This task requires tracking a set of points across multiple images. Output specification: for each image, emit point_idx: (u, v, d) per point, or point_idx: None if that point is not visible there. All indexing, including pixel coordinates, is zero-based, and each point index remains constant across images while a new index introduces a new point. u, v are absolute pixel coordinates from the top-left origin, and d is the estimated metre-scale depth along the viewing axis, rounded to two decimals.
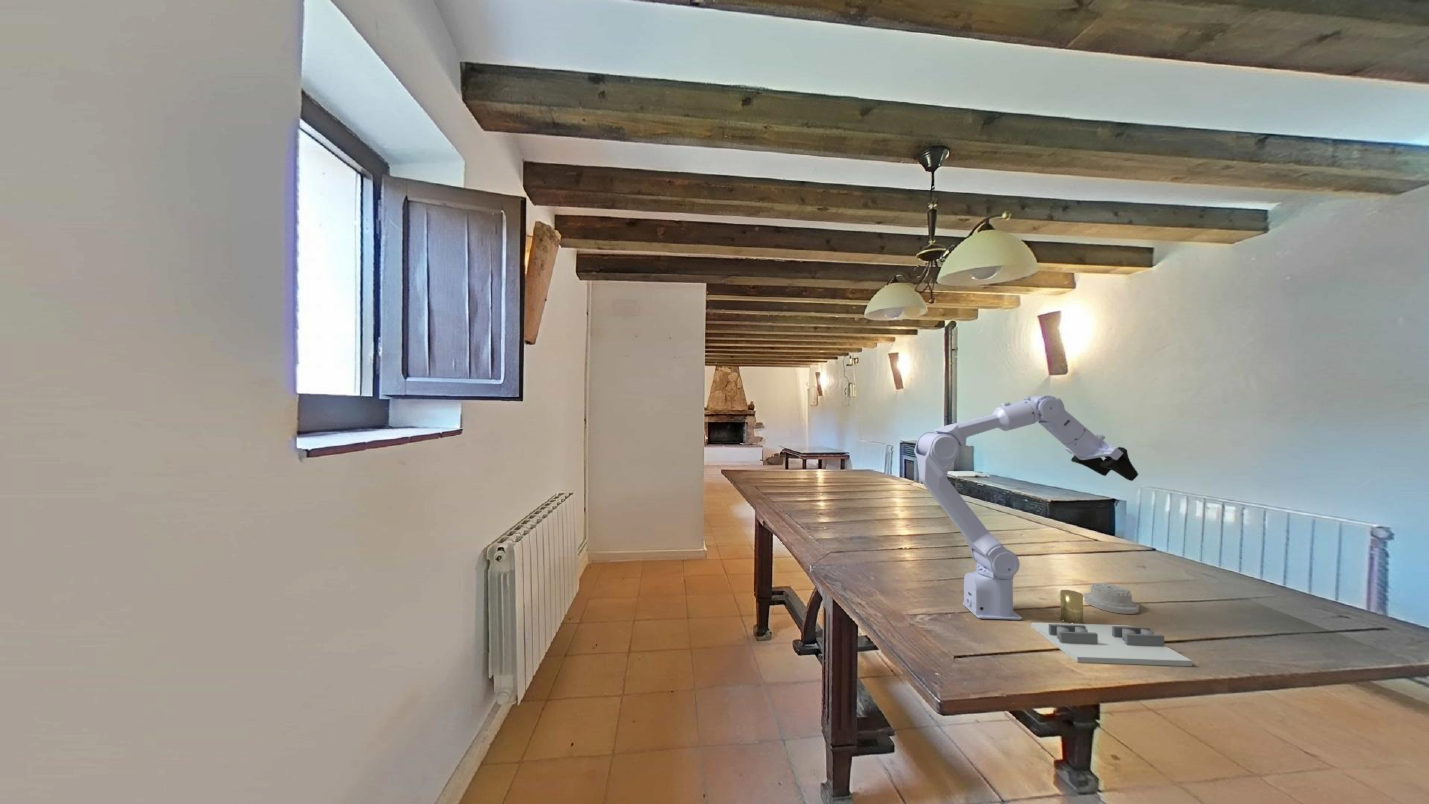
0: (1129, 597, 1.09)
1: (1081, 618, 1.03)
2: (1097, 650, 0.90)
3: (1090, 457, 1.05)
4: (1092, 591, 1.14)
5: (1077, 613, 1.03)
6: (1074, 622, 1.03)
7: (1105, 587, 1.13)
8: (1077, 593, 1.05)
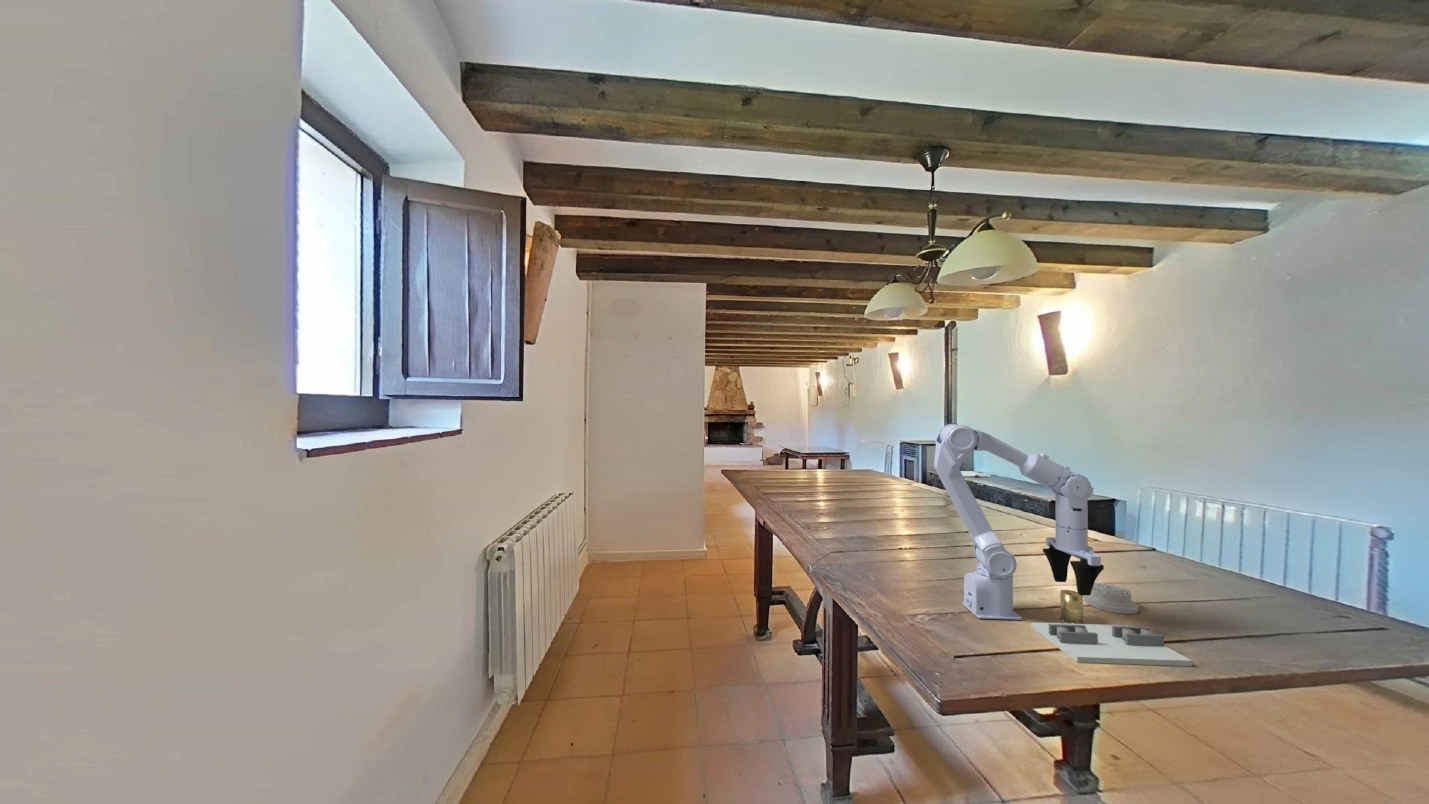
0: (1128, 597, 1.09)
1: (1081, 618, 1.03)
2: (1097, 650, 0.90)
3: (1068, 551, 1.02)
4: (1091, 591, 1.14)
5: (1077, 613, 1.03)
6: (1074, 622, 1.03)
7: (1104, 587, 1.13)
8: (1077, 593, 1.05)
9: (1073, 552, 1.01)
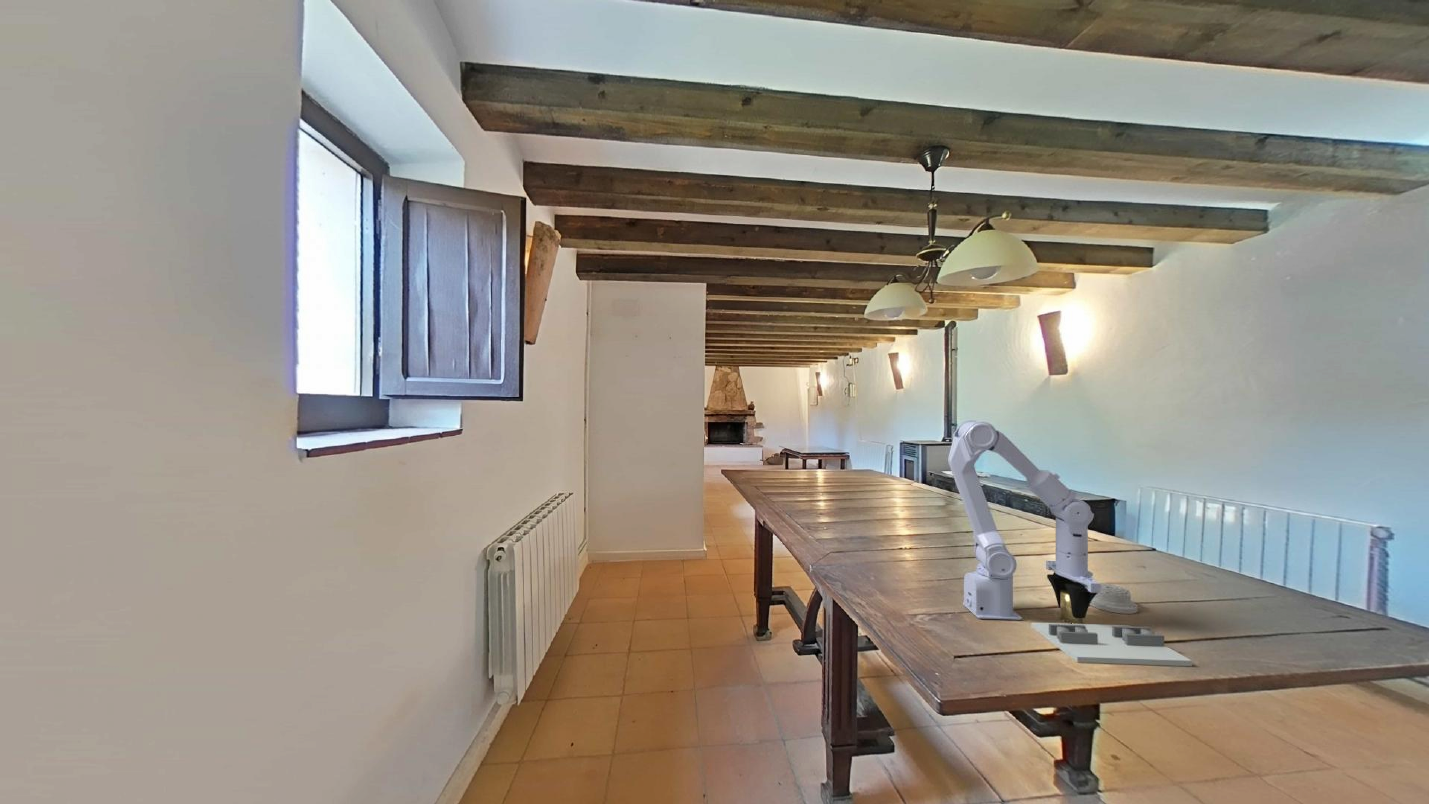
0: (1128, 597, 1.09)
1: (1081, 618, 1.03)
2: (1097, 650, 0.90)
3: (1068, 576, 1.02)
4: None
5: None
6: (1074, 622, 1.03)
7: (1104, 587, 1.13)
8: None
9: (1073, 578, 1.01)
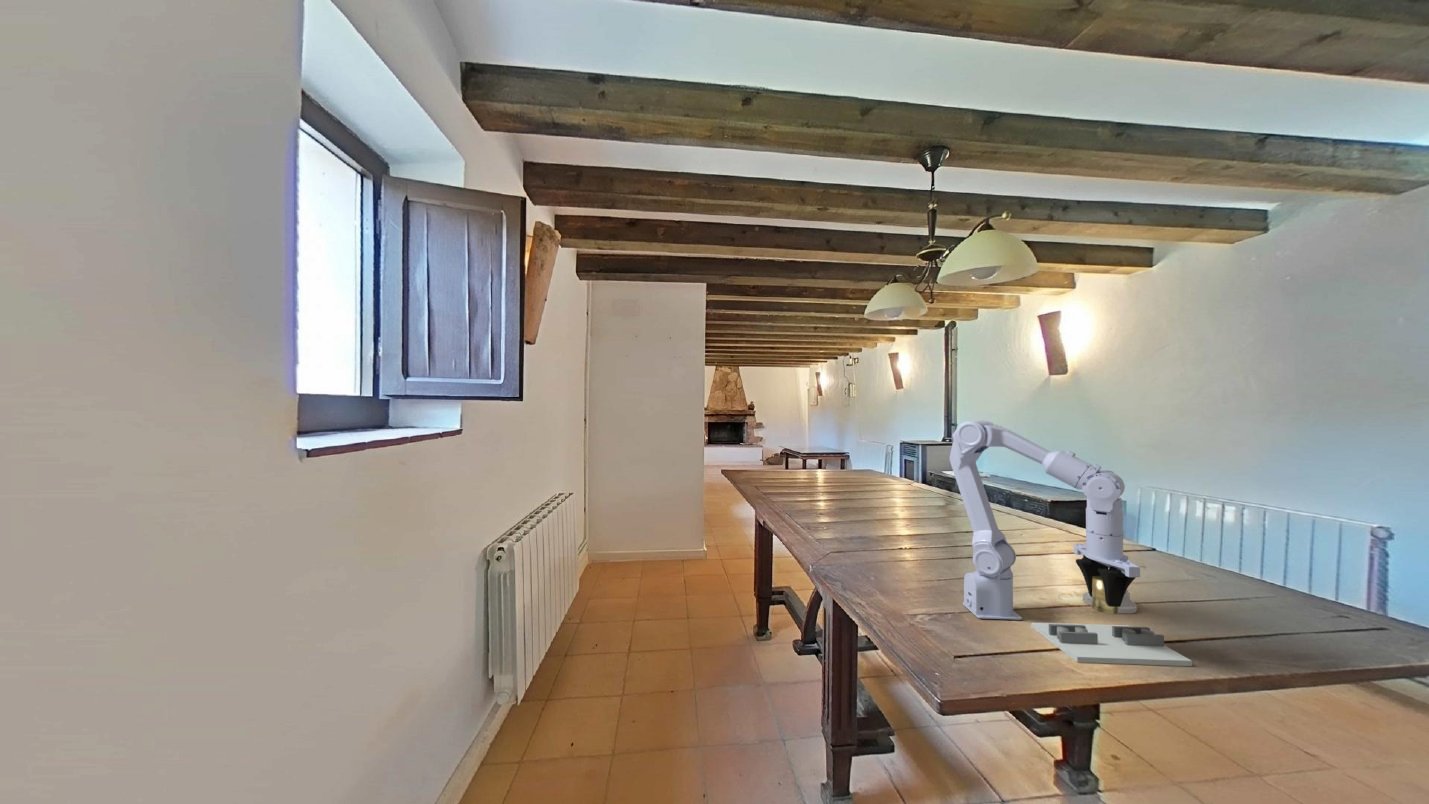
0: (1127, 596, 1.10)
1: (1116, 607, 0.92)
2: (1097, 650, 0.90)
3: (1101, 560, 0.92)
4: None
5: None
6: (1108, 612, 0.92)
7: None
8: None
9: (1107, 562, 0.91)
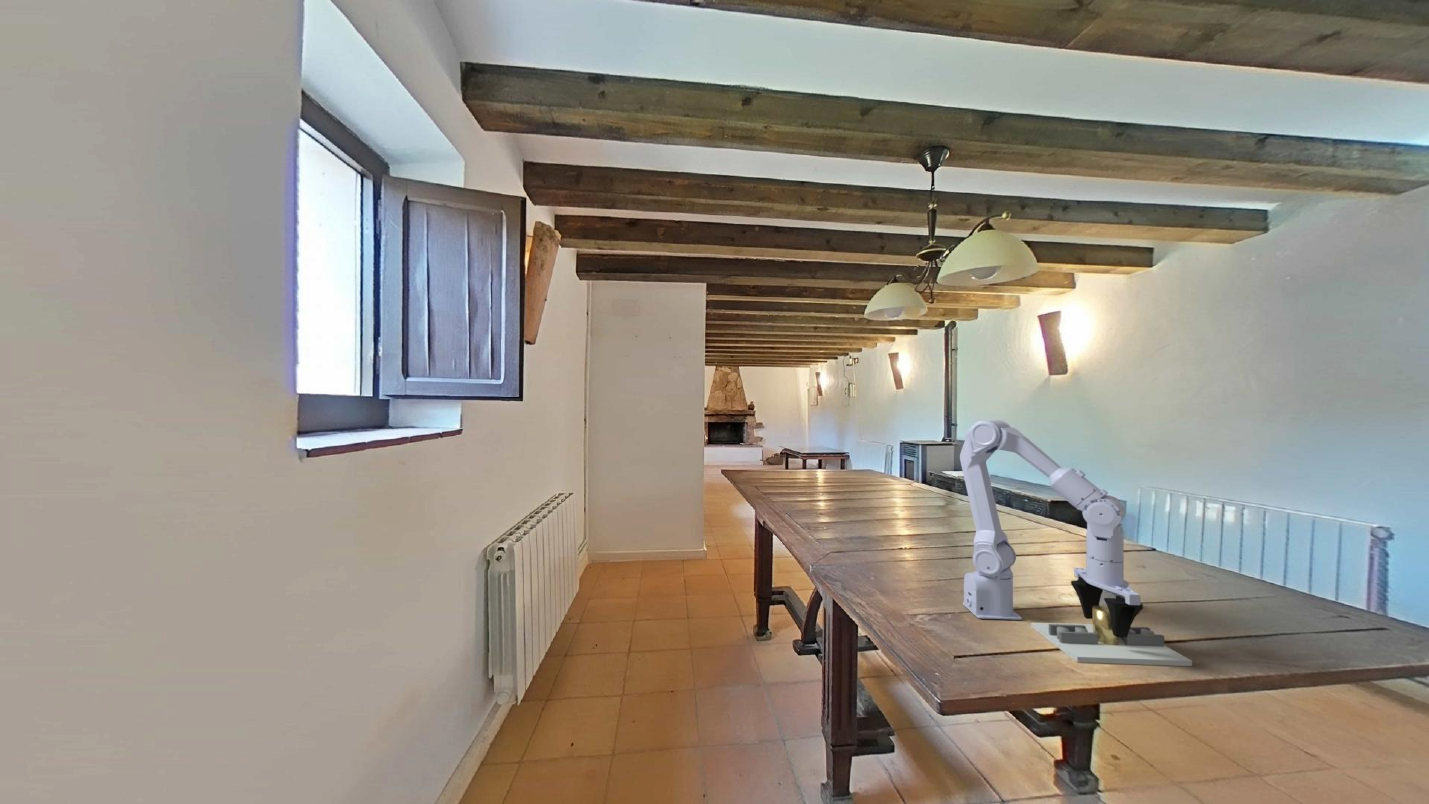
0: None
1: (1117, 638, 0.92)
2: (1097, 650, 0.90)
3: (1101, 586, 0.91)
4: None
5: None
6: (1109, 643, 0.92)
7: None
8: None
9: (1108, 588, 0.90)
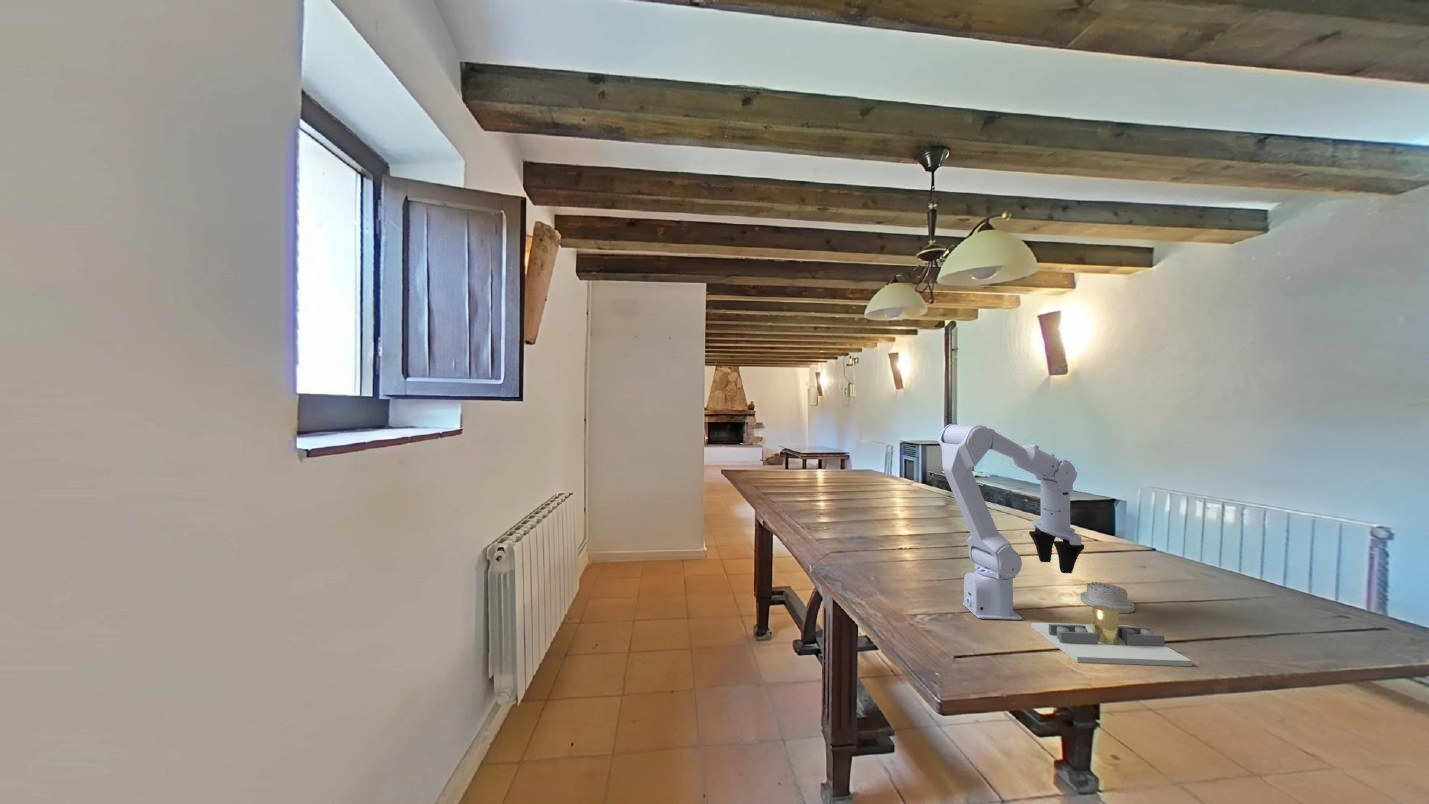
0: (1125, 596, 1.10)
1: (1117, 637, 0.92)
2: (1097, 650, 0.90)
3: (1051, 532, 1.09)
4: (1088, 590, 1.14)
5: (1113, 632, 0.92)
6: (1109, 642, 0.92)
7: (1101, 586, 1.14)
8: (1111, 609, 0.94)
9: (1056, 533, 1.08)
